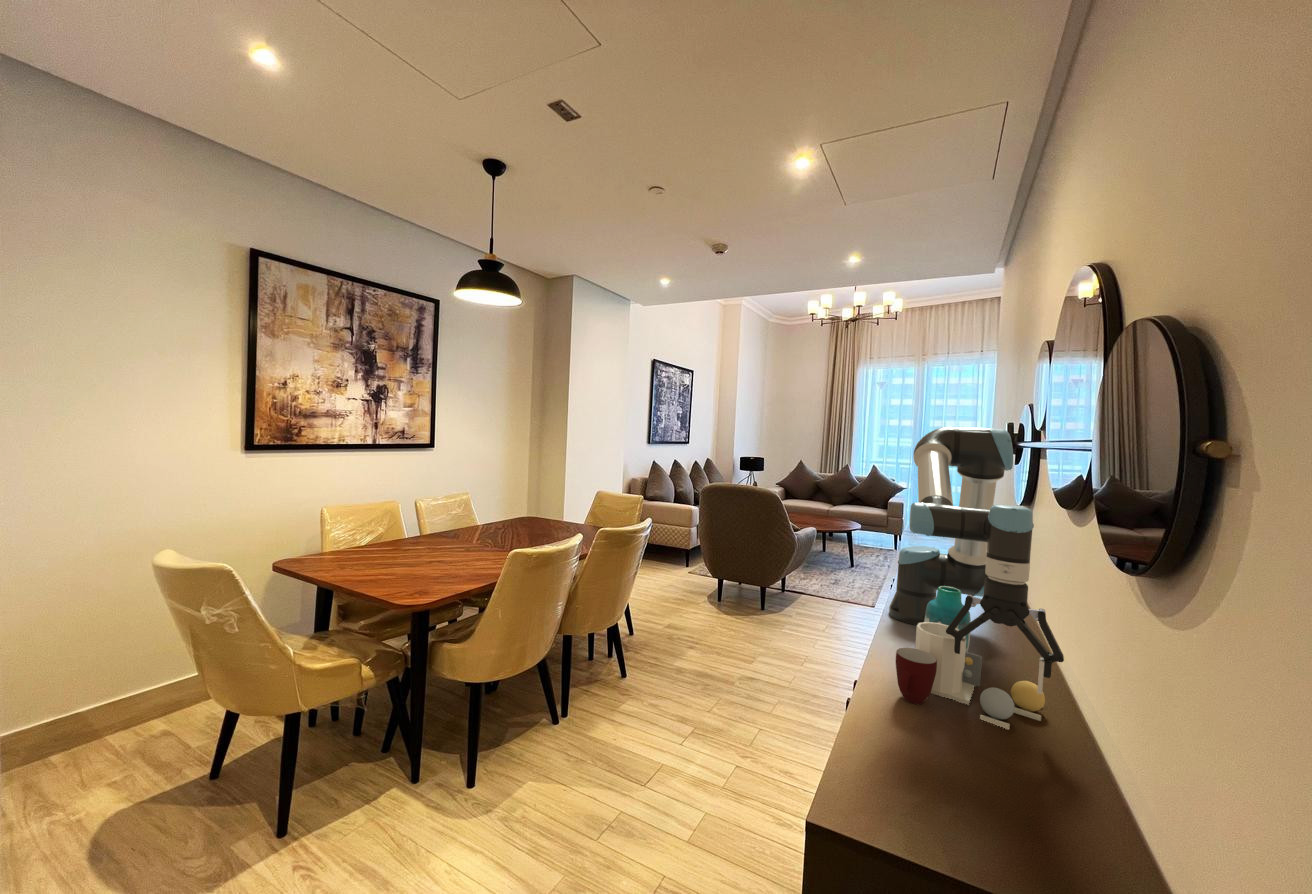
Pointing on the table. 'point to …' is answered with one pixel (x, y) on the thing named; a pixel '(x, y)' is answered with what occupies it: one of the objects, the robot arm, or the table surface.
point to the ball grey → (997, 703)
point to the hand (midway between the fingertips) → (999, 680)
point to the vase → (947, 609)
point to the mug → (915, 674)
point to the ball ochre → (1027, 696)
